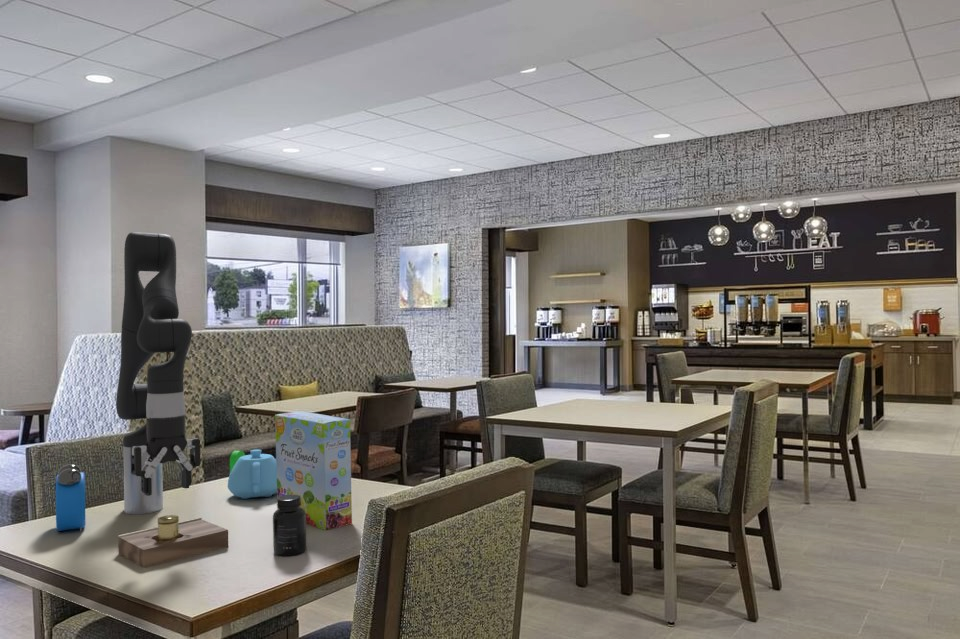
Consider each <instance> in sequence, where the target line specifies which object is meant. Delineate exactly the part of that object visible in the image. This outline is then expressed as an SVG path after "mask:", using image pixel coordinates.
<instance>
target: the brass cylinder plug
mask: <svg viewBox="0 0 960 639" xmlns="http://www.w3.org/2000/svg"><path fill="white" fill-rule="evenodd" d="M179 518H180V517H179V515H175V514H173V515H172V514H171V515H168V514H167V515H163V516H159V517H157V527H158V542H159V541H169V540H174V539H178V538H179V524H178V522H180V521H179V520H180V519H179Z"/></svg>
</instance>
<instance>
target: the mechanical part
mask: <svg viewBox="0 0 960 639" xmlns="http://www.w3.org/2000/svg"><path fill="white" fill-rule="evenodd" d="M245 455H246V454H245V452H244V451H242V450H233V451H232V453H231V454H230V457H229V474H230V473H231V471H232V469H233V467H234V465H235V464H236V462H237V460H238V459H239V458H240V457H242V456H245Z"/></svg>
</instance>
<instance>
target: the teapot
mask: <svg viewBox="0 0 960 639" xmlns="http://www.w3.org/2000/svg"><path fill="white" fill-rule="evenodd" d="M227 489H228V490H229V492H230V493H231V494H232V495H233V496H234V497H238V498H240V499H241V500H248V499H250V498H261V497H263V498H271V497H272V495H275V494H277V470H276V457H274V456H273V455H272V454H267V453H262V449H251V450H250V454H245V456H242V457H240V458H239V459H238V460H237V462H236V464H235V465H234V467H233V469H232V471H231V473H230V472H229V476H228V479H227Z"/></svg>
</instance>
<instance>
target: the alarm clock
mask: <svg viewBox="0 0 960 639" xmlns="http://www.w3.org/2000/svg"><path fill="white" fill-rule="evenodd" d="M85 476H86V474H85V473H84V472H82V469H81V467H80V466H78V465H77V464H73V463H68V464H65V465H62V466H61V467H60V468H59V470H58V472H57V475H56V477H55V482H54V490H55V526H56V527H55V528H56V531H57V532H61V531H70V530H77V529H79V531H80V532H82V530H83V528H85V527H86V478H85Z"/></svg>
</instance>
